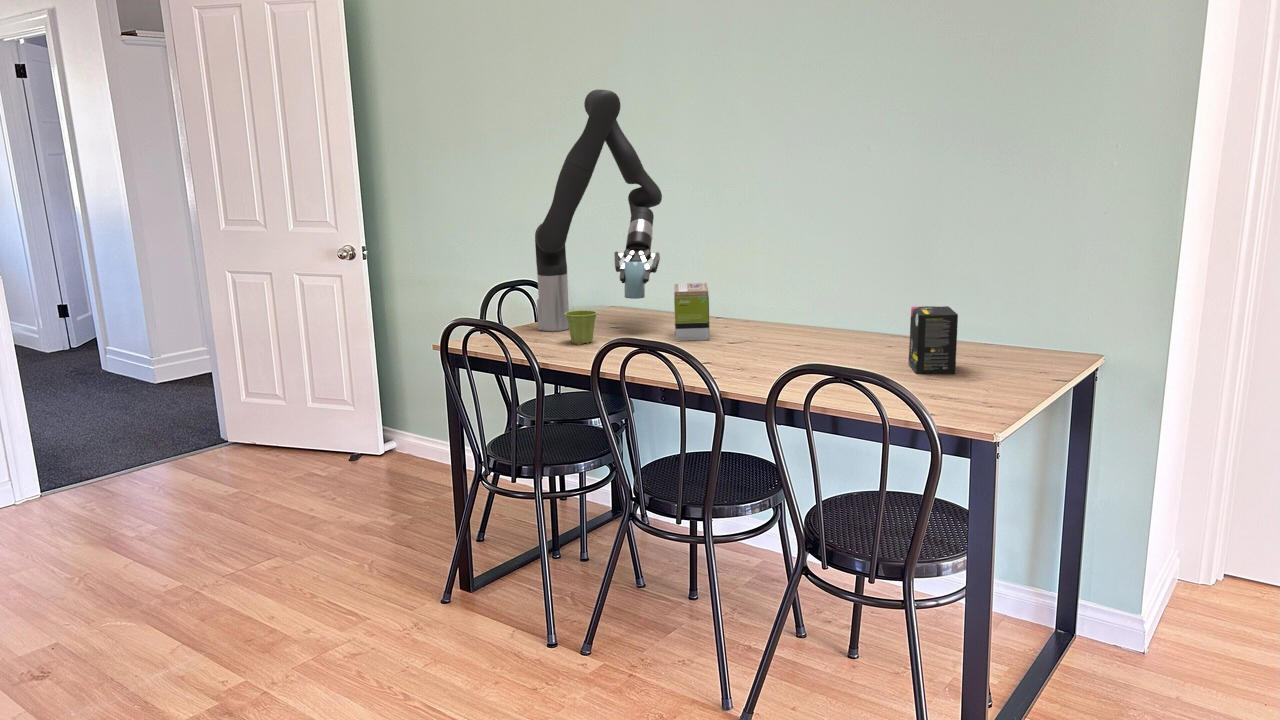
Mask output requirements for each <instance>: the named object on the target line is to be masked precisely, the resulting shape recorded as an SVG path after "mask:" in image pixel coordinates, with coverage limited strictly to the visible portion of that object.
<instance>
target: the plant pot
mask: <svg viewBox="0 0 1280 720" xmlns="http://www.w3.org/2000/svg"><path fill="white" fill-rule="evenodd" d="M565 315H566V318H567V320H568V325H569V329H568V331H569V335H570V341H571V343H572V344H575V345H577V344H579V345H583V344H590V343H589V342H591V343H592V342H593V341H594V333H595V332H594V329H595V323H596V321H595V320H596V318H597V315H598V311H596V310H586V309H585V310H584V309H582V310H581V309H580V310H578V309H577V310H569V312H565Z"/></svg>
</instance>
